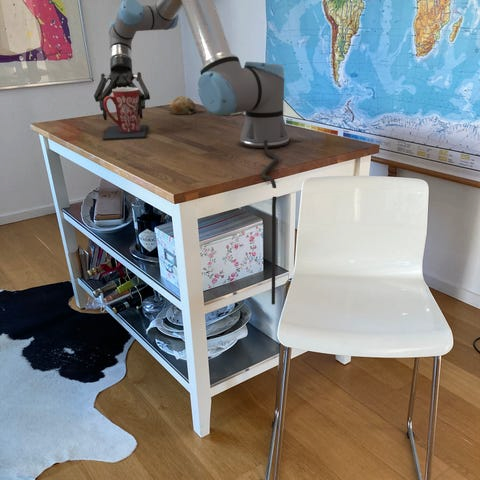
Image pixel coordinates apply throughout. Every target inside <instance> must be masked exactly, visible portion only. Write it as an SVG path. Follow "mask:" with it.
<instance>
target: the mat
mask: <svg viewBox="0 0 480 480" xmlns="http://www.w3.org/2000/svg"><path fill="white" fill-rule="evenodd" d="M147 127H148V124H141V130H140V131H137V132H121V131H120V128H119V125H112V126H107V128H106V130H105V132H104V135H103V137H102V140H103V141H113V140H117V141H118V140H134V139H145V138H146V134H147Z"/></svg>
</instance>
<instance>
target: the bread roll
mask: <svg viewBox="0 0 480 480" xmlns="http://www.w3.org/2000/svg"><path fill="white" fill-rule="evenodd" d="M169 109H170V112H171V114H172V115H191V114H193V113H195V112H196V111H197V110H196V104H195V102H194V101H193V100H192V99H191V98H190V97H187V96H183V95H181V96H178V97H176V98H175V99H173V100H172V102H171V103H170V105H169Z"/></svg>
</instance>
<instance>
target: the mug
mask: <svg viewBox="0 0 480 480" xmlns="http://www.w3.org/2000/svg"><path fill="white" fill-rule="evenodd" d="M139 90H140V89H139V87H137V88H132V87H131V88H129V87H120V88H118V87H117V88H116V89H113V90H112V95H113V96H112V95H109V96H107V97H105V99H104V102H103V103H104V108H105V110H106V112H107V116H109V118H110V119H111V120H112V121H113V122H114V123H115V124H116V126H119V128H120V131H121V132H137V131H140V130H141V125H142V124H141V119H140V115H139V93H138V91H139ZM108 100H111V101H112V102H113V105H115V111H116V116H117V119H116V118H115V117H114V116H113V114H112V113H111V112H110V110H109V108H108V104H107V103H108Z"/></svg>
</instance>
